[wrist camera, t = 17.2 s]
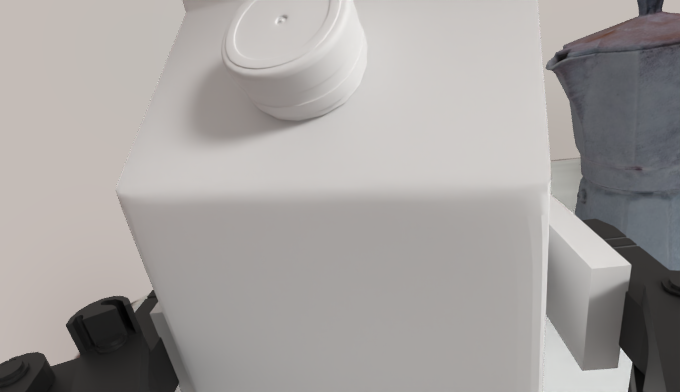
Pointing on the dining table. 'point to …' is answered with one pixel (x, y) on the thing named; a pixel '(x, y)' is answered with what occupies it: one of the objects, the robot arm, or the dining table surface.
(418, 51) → the milk carton
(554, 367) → the dining table surface
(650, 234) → the moka pot
